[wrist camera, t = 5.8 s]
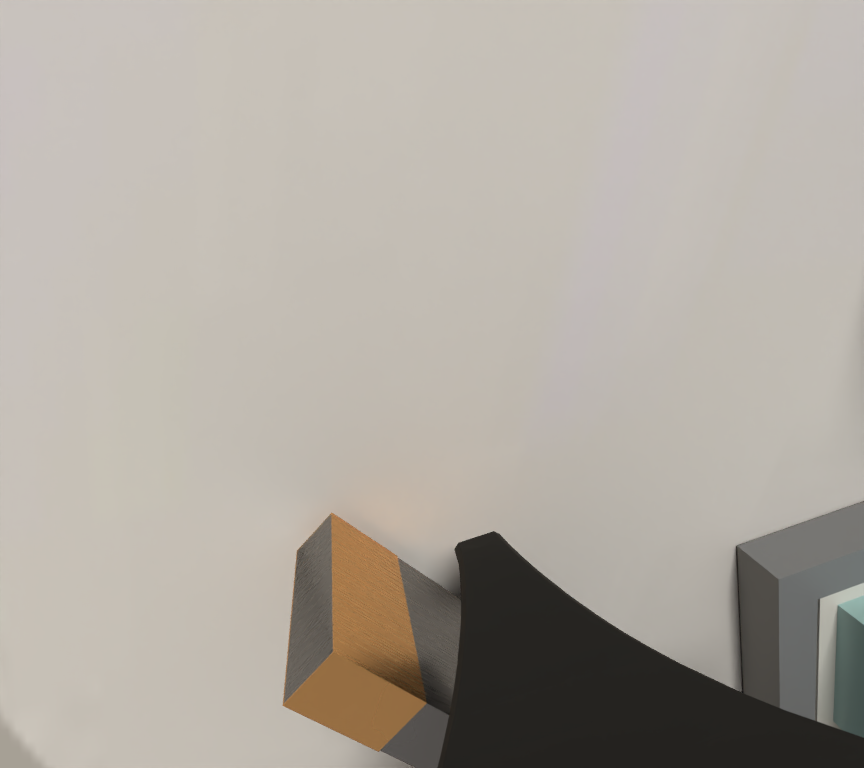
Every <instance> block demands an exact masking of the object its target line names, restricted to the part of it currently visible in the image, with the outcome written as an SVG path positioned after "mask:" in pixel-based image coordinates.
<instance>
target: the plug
mask: <svg viewBox="0 0 864 768" xmlns="http://www.w3.org/2000/svg"><path fill="white" fill-rule="evenodd" d="M815 721H817V722H820V723H823V724H826V725H829V726H832V727H835V728H838V729H840V730H843V731H846V732H849V733H852V734H855V735H858V736H861V737H863V738H864V583H862V584H859V585H856V586H853V587H851V588H848V589H845V590H843V591H840V592H837V593H834V594H832V595H829V596H826V597H824V598H821V599H818V614H817V656H816V697H815Z"/></svg>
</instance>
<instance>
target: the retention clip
mask: <svg viewBox="0 0 864 768" xmlns="http://www.w3.org/2000/svg"><path fill="white" fill-rule="evenodd" d="M460 625H461V599H460V598H458V597H457V596H455V595H453V594H452V593H450V592H449V591H447V590H446V589H444V588H443V587H441V586H440V585H438V584H437V583H435V582H434V581H432V580H431V579H429V578H428V577H426V576H425V575H423V574H422V573H420V572H419V571H417V570H416V569H414V568H413V567H411V566H410V565H408V564H407V563H405V562H404V561H402V560H401V559H399V558H398V557H397V555H395V554H394V553H392V552H391V551H389V550H387V549H386V548H384V547H383V546H381V545H380V544H378V543H377V542H375V541H374V540H372V539H371V538H369V537H368V536H366V535H365V534H363V533H362V532H360V531H359V530H357V529H356V528H354V527H353V526H351V525H350V524H348V523H347V522H345V521H344V520H342V519H341V518H339V517H338V516H336V515H335V514H333V513H331V514H330V515H329V516H328V517H327V519H326V520H325V521H324V522H323V523H322V524H321V525H320V526H319V527H318V528H317V530H316V531H315V532H314V533H313V534H312V535H311V536H310V537H309V538H308V539H307V540H306V542H305V543H304V544H303V545H302V546H301V547H300V548H299V549H298V550H297V556H296V567H295V578H294V589H293V599H292V610H291V621H290V632H289V643H288V654H287V665H286V676H285V687H284V698H283V706H285V707H287V708H289V709H291V710H293V711H295V712H297V713H299V714H301V715H303V716H305V717H307V718H309V719H312V720H314V721H316V722H318V723H320V724H322V725H324V726H326V727H328V728H330V729H332V730H334V731H336V732H339V733H341V734H343V735H345V736H347V737H349V738H351V739H353V740H355V741H357V742H359V743H361V744H363V745H366V746H368V747H370V748H372V749H374V750H376V751H378V752H379V751H380V750H381V751H383V752H385V753H387V754H389V755H391V756H393V757H395V758H397V759H399V760H401V761H403V762H405V763H407V764H409V765H412V766H414V767H416V768H437V767H438V763H439V759H440V755H441V751H442V746H443V742H444V737H445V732H446V728H447V723H448V718H449V713H450V708H451V702H452V696H453V690H454V684H455V677H456V669H457V661H458V650H459V638H460Z"/></svg>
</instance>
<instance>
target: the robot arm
mask: <svg viewBox="0 0 864 768" xmlns="http://www.w3.org/2000/svg"><path fill="white" fill-rule="evenodd" d="M455 553H456V556H457V560H458V564H459V570H460V582H461V625H460V638H459V650H458V661H457V669H456V677H455V684H454V690H453V696H452V702H451V708H450V713H449V718H448V723H447V728H446V732H445V737H444V742H443V746H442V751H441V755H440V759H439V763H438V767H437V768H864V738H863V737H861V736H858V735H855V734H852V733H849V732H846V731H843V730H840V729H838V728H835V727H832V726H829V725H826V724H823V723H820V722H817V721H815V720H812V719H809V718H806V717H803V716H800V715H797V714H794V713H792V712H789V711H786V710H783V709H781V708H778V707H776V706H773V705H771V704H768V703H766V702H763V701H761V700H759V699H756V698H754V697H751V696H749V695H746V694H744V693H742V692H739V691H737V690H735V689H733V688H730V687H728V686H726V685H724V684H722V683H720V682H718V681H716V680H714V679H711V678H709V677H707V676H705V675H703V674H701V673H699V672H697V671H695V670H692V669H690V668H688V667H686V666H684V665H682V664H680V663H678V662H676V661H674V660H672V659H670V658H668V657H667V656H665V655H663V654H661V653H659V652H657V651H656V650H654V649H652V648H650V647H648V646H646V645H645V644H643V643H641V642H640V641H638V640H636V639H634V638H633V637H631V636H629V635H628V634H626V633H624V632H623V631H621V630H619V629H618V628H616V627H615V626H613V625H612V624H610V623H608V622H607V621H605V620H604V619H602V618H601V617H599V616H598V615H596V614H595V613H594V612H592V611H591V610H589V609H588V608H586V607H585V606H583V605H582V604H581V603H579V602H578V601H576V600H575V599H574V598H572V597H571V596H570V595H568V594H567V593H566V592H564V591H563V590H562V589H560V588H559V587H558V586H557V585H555V584H554V583H553V582H552V581H550V580H549V579H548V578H547V577H545V576H544V575H543V574H542V573H540V572H539V571H538V570H537V569H536V568H534V567H533V566H532V565H531V564H530V563H529V562H528V561H527V560H525V559H524V558H523V557H522V556H521V555H520V554H519V553H518V552H517V551H516V550H515V549H513V548H512V547H511V546H510V545H509V544H508V543H507V542H506V541H505V539H504V538H503V537H502V536H501V535H500V534H498V533H496V532H494V531H493V532H490V533H487V534H484V535H481V536H478V537H475V538H472V539H469V540H466V541H463V542H460V543H458V545H457V546H456V548H455Z"/></svg>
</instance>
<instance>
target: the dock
mask: <svg viewBox="0 0 864 768" xmlns="http://www.w3.org/2000/svg"><path fill="white" fill-rule="evenodd" d="M737 555H738V578H739V602H740V625H741V648H742V671H743V693H744V694H746V695H749V696H751V697H754V698H756V699H759V700H761V701H763V702H766V703H768V704H771V705H773V706H776V707H778V708H781V709H783V710H786V711H789V712H792V713H794V714H797V715H800V716H803V717H806V718H809V719H812V720H815V697H816V656H817V614H818V599H821V598H824V597H826V596H829V595H832V594H834V593H837V592H840V591H843V590H845V589H848V588H851V587H853V586H856V585H859V584H862V583H864V501H863V502H860V503H858V504H855V505H852V506H849V507H846V508H843V509H841V510H838V511H835V512H832V513H829V514H826V515H823V516H821V517H818V518H815V519H812V520H809V521H806V522H803V523H801V524H798V525H795V526H792V527H789V528H786V529H783V530H781V531H778V532H775V533H772V534H769V535H766V536H763V537H761V538H758V539H755V540H752V541H749V542H746V543H743V544H741V545H738V546H737Z"/></svg>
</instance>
